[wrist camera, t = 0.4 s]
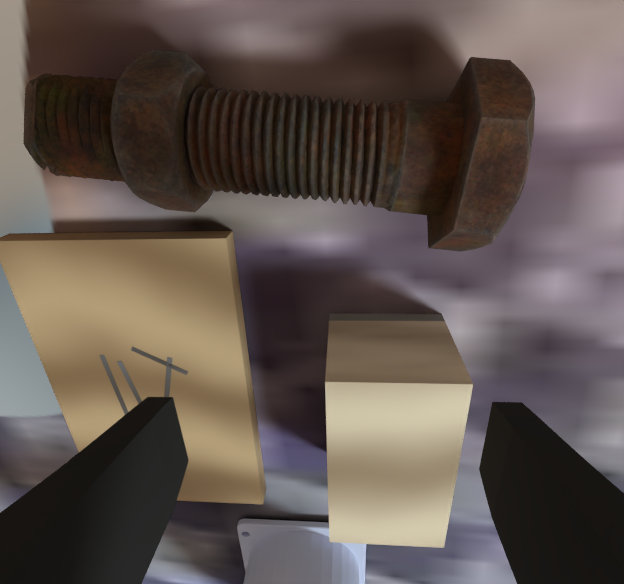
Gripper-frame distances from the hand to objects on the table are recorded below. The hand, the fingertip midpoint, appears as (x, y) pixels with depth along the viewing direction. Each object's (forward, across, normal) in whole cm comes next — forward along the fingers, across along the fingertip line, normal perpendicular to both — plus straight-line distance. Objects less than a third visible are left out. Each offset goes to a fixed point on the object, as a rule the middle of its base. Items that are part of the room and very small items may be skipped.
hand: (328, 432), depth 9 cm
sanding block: (+9, -2, +6) cm, 11 cm away
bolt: (+9, +2, -6) cm, 11 cm away
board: (+9, +9, +6) cm, 14 cm away
